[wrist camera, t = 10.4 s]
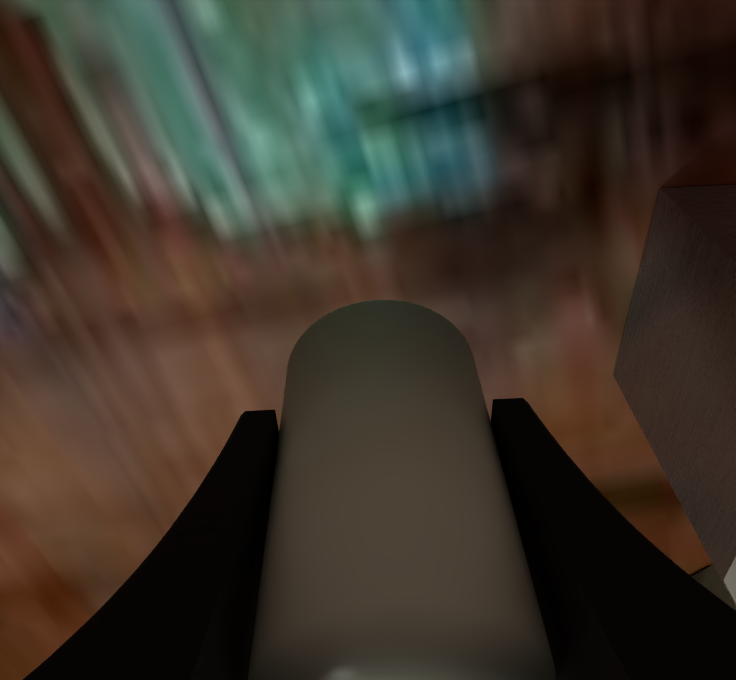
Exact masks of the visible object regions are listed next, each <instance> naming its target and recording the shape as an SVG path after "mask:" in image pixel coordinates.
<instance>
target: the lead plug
mask: <svg viewBox="0 0 736 680" xmlns="http://www.w3.org/2000/svg"><path fill="white" fill-rule="evenodd" d="M555 675H556V674H555V666H554V662H553V658H552V654H551V650H550V646H549V643H548V639H547V635H546V631H545V627H544V624H543V620H542V616H541V612H540V608H539V605H538V601H537V597H536V593H535V589H534V585H533V582H532V578H531V574H530V570H529V566H528V563H527V559H526V555H525V551H524V547H523V544H522V540H521V536H520V532H519V528H518V525H517V521H516V517H515V513H514V509H513V506H512V502H511V498H510V494H509V490H508V486H507V483H506V479H505V475H504V471H503V467H502V464H501V460H500V456H499V452H498V448H497V445H496V441H495V437H494V433H493V429H492V426H491V422H490V418H489V414H488V410H487V407H486V403H485V399H484V395H483V391H482V387H481V384H480V380H479V376H478V372H477V368H476V365H475V361H474V357H473V354H472V351H471V348H470V346H469V344H468V342H467V340H466V339H465V337H464V336H463V334H462V333H461V332H460V331H459V329H458V328H457V327H455V326H454V325H453V324H452V323H451V322H450V321H449V320H447V319H446V318H444V317H443V316H442V315H440V314H438V313H436V312H434V311H432V310H430V309H428V308H425V307H423V306H420V305H417V304H413V303H409V302H404V301H396V300H372V301H364V302H359V303H354V304H351V305H348V306H345V307H342V308H339V309H337V310H335V311H333V312H331V313H328V314H327V315H325V316H324V317H322V318H320V319H319V320H317V321H316V322H315V323H314V324H313V325H311V326H310V327H309V328H308V329H307V330H306V331H305V332H304V333H303V334H302V336H301V337H300V338H299V340H298V341H297V343H296V344H295V346H294V348H293V350H292V352H291V355H290V358H289V362H288V366H287V374H286V382H285V390H284V398H283V406H282V414H281V421H280V429H279V437H278V445H277V453H276V461H275V469H274V477H273V484H272V492H271V500H270V508H269V516H268V524H267V532H266V540H265V547H264V555H263V563H262V571H261V579H260V587H259V595H258V602H257V610H256V618H255V626H254V634H253V642H252V650H251V658H250V665H249V673H248V680H555Z"/></svg>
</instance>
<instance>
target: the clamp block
mask: <svg viewBox="0 0 736 680" xmlns="http://www.w3.org/2000/svg"><path fill="white" fill-rule="evenodd" d="M613 376H614V378H615V380H616V382H617V384H618V385H619V387H620V389H621V391H622V393H623V395H624V397H625V399H626V401H627V403H628V404H629V406H630V408H631V410H632V412H633V414H634V416H635V418H636V420H637V421H638V423H639V425H640V427H641V429H642V431H643V433H644V435H645V437H646V439H647V440H648V442H649V444H650V446H651V448H652V450H653V452H654V454H655V456H656V458H657V459H658V461H659V463H660V465H661V467H662V469H663V471H664V473H665V475H666V476H667V478H668V480H669V482H670V484H671V486H672V488H673V490H674V492H675V494H676V495H677V497H678V499H679V501H680V503H681V505H682V507H683V509H684V511H685V513H686V514H687V516H688V518H689V520H690V522H691V524H692V526H693V528H694V530H695V531H696V533H697V535H698V537H699V539H700V541H701V543H702V545H703V547H704V549H705V550H706V552H707V554H708V556H709V558H710V560H711V562H712V564H713V566H714V567H715V569H716V571H717V573H718V575H719V577H720V579H721V581H722V583H723V585H724V586H725V588H726V590H727V592H728V594H729V596H730V598H731V600H732V602H733V604H734V605H735V607H736V603H735V601H734V599H733V598H732V596H731V594H730V592H729V590H728V588H727V586H726V584H725V582H724V581H723V580H724V578H725V576H726V574H727V572H728V570H729V568H730V566H731V565H732V563H733V561H734V559H735V557H736V185H716V186H695V187H674V188H660V190H659V194H658V198H657V202H656V206H655V210H654V214H653V218H652V222H651V226H650V230H649V234H648V238H647V242H646V246H645V250H644V254H643V258H642V262H641V266H640V270H639V275H638V279H637V283H636V287H635V291H634V295H633V299H632V303H631V307H630V311H629V315H628V319H627V323H626V327H625V331H624V335H623V339H622V343H621V347H620V351H619V355H618V359H617V363H616V367H615V371H614V375H613Z"/></svg>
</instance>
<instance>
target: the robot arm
mask: <svg viewBox="0 0 736 680" xmlns="http://www.w3.org/2000/svg"><path fill="white" fill-rule="evenodd" d="M491 426H492V429H493V433H494V437H495V441H496V445H497V448H498V452H499V456H500V460H501V464H502V467H503V471H504V475H505V479H506V483H507V486H508V490H509V494H510V498H511V502H512V506H513V509H514V513H515V517H516V521H517V525H518V528H519V532H520V536H521V540H522V544H523V547H524V551H525V555H526V559H527V563H528V566H529V570H530V574H531V578H532V582H533V585H534V589H535V593H536V597H537V601H538V605H539V608H540V612H541V616H542V620H543V624H544V627H545V631H546V635H547V639H548V643H549V646H550V650H551V654H552V658H553V662H554V666H555V674H556V675H555V680H736V610H735V609H733V608H732V607H730V606H729V605H728V604H726V603H725V602H724V601H722V600H721V599H720V598H718V597H717V596H716V595H715V594H713V593H712V592H711V591H709V590H708V589H707V588H706V587H704V586H703V585H702V584H700V583H699V582H698V581H696V580H695V579H694V578H693V577H691V576H690V575H689V574H687V573H686V572H685V571H684V570H682V569H681V568H680V567H679V566H678V565H676V564H675V563H674V562H673V561H672V560H671V559H669V558H668V557H667V556H666V555H665V554H664V553H662V552H661V551H660V550H659V549H658V548H657V547H656V546H654V545H653V544H652V543H651V542H650V541H649V540H648V539H647V538H646V537H645V536H643V535H642V534H641V533H640V532H639V531H638V530H637V529H636V528H635V527H634V526H633V525H632V524H631V523H630V522H629V521H628V520H627V519H626V518H625V517H624V516H623V515H622V514H621V513H620V512H619V511H618V510H617V509H616V508H615V507H614V506H613V505H612V504H611V503H610V502H609V501H608V500H607V499H606V498H605V497H604V496H603V495H602V494H601V493H600V491H599V490H598V489H597V488H596V487H595V486H594V485H593V484H592V483H591V482H590V480H589V479H588V478H587V477H586V476H585V475H584V473H583V472H582V471H581V470H580V469H579V468H578V466H577V465H576V464H575V463H574V462H573V461H572V459H571V458H570V457H569V456H568V455H567V453H566V452H565V451H564V450H563V449H562V447H561V446H560V445H559V444H558V442H557V441H556V440H555V438H554V437H553V436H552V435H551V433H550V432H549V431H548V429H547V428H546V427H545V425H544V424H543V423H542V421H541V420H540V419H539V417H538V416H537V415H536V413H535V412H534V411H533V409H532V408H531V406H530V405H529V403H528V402H527V401H526V400H525V399H523V398H513V399H493V405H492V415H491ZM278 437H279V430H278V424H277V419H276V413H275V410H260V411H245V412H244V413H243V414H242V415H241V416H240V418H239V420H238V422H237V424H236V426H235V428H234V430H233V432H232V434H231V435H230V437H229V439H228V441H227V443H226V444H225V446H224V448H223V450H222V451H221V453H220V455H219V456H218V458H217V460H216V461H215V463H214V465H213V466H212V468H211V469H210V471H209V472H208V474H207V476H206V477H205V479H204V480H203V482H202V483H201V485H200V487H199V488H198V490H197V491H196V493H195V494H194V496H193V497H192V499H191V500H190V501H189V503H188V504H187V506H186V507H185V508H184V510H183V511H182V513H181V514H180V515H179V517H178V518H177V519H176V521H175V522H174V524H173V525H172V526H171V528H170V529H169V530H168V532H167V533H166V534H165V536H164V537H163V538H162V539H161V541H160V542H159V543H158V544H157V546H156V547H155V548H154V549H153V551H152V552H151V553H150V554H149V555H148V557H147V558H146V559H145V560H144V561H143V563H142V564H141V565H140V566H139V567H138V568H137V570H136V571H135V572H134V573H133V574H132V575H131V576H130V577H129V578H128V580H127V581H126V582H125V583H124V584H123V585H122V586H121V587H120V588H119V589H118V590H117V591H116V593H115V594H114V595H113V596H112V597H111V598H110V599H109V600H108V601H107V602H106V603H105V604H104V605H103V606H102V607H101V608H100V609H99V610H98V611H97V612H96V613H95V614H94V615H93V616H92V617H91V618H90V619H89V620H88V621H87V622H86V623H85V624H84V625H83V626H82V627H81V628H80V629H79V630H78V631H77V632H75V633H74V634H73V635H72V636H71V637H70V638H69V639H68V640H67V641H66V642H65V643H64V644H63V645H62V646H61V647H59V648H58V649H57V650H56V651H55V652H54V653H53V654H52V655H51V656H50V657H49V658H48V659H46V660H45V661H44V662H43V663H42V664H41V665H40V666H38V667H37V668H36V669H35V670H34V671H33V672H31V673H30V674H29V675H28V676H27V677H25V678H24V679H23V680H248V673H249V665H250V658H251V650H252V642H253V634H254V626H255V618H256V610H257V602H258V595H259V587H260V579H261V571H262V563H263V555H264V547H265V540H266V532H267V524H268V516H269V508H270V500H271V492H272V484H273V477H274V469H275V461H276V453H277V445H278Z"/></svg>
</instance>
